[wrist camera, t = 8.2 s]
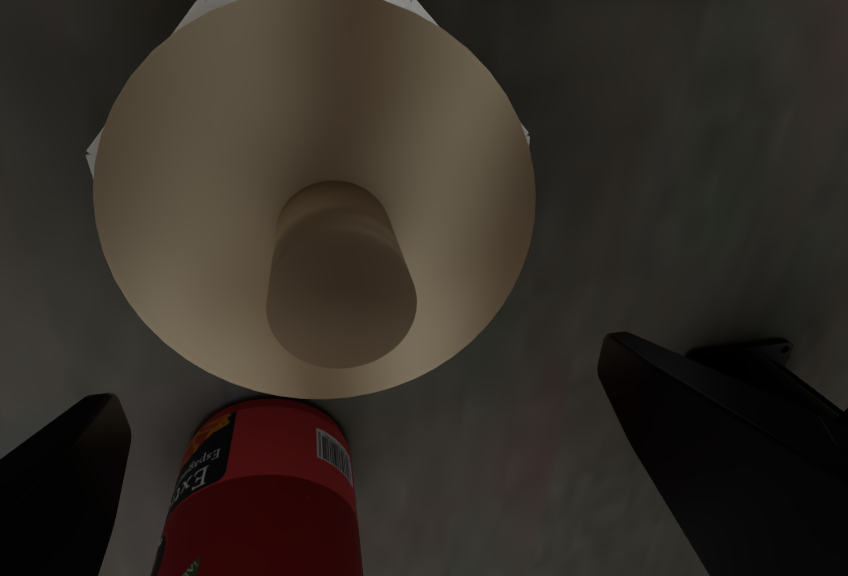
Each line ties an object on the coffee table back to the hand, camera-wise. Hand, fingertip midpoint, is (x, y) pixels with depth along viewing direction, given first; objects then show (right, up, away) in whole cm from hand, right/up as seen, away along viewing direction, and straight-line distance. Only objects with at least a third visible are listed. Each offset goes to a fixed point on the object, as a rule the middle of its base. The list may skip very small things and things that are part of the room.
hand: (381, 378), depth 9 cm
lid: (-2, +4, +5) cm, 7 cm away
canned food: (-7, -6, +16) cm, 19 cm away
